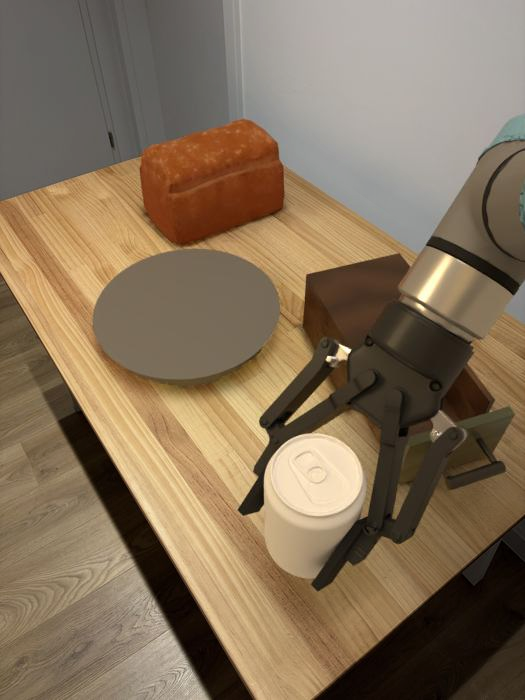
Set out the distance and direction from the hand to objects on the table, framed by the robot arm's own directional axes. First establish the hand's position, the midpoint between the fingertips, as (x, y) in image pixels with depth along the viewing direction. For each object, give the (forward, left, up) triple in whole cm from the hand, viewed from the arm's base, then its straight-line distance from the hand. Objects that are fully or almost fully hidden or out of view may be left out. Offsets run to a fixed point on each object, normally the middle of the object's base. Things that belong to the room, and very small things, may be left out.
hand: (283, 545), depth 47 cm
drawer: (+14, -25, -15) cm, 32 cm away
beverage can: (+1, -3, -4) cm, 5 cm away
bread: (+73, -13, -16) cm, 76 cm away
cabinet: (+29, -25, -16) cm, 41 cm away
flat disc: (+43, -1, -16) cm, 46 cm away
